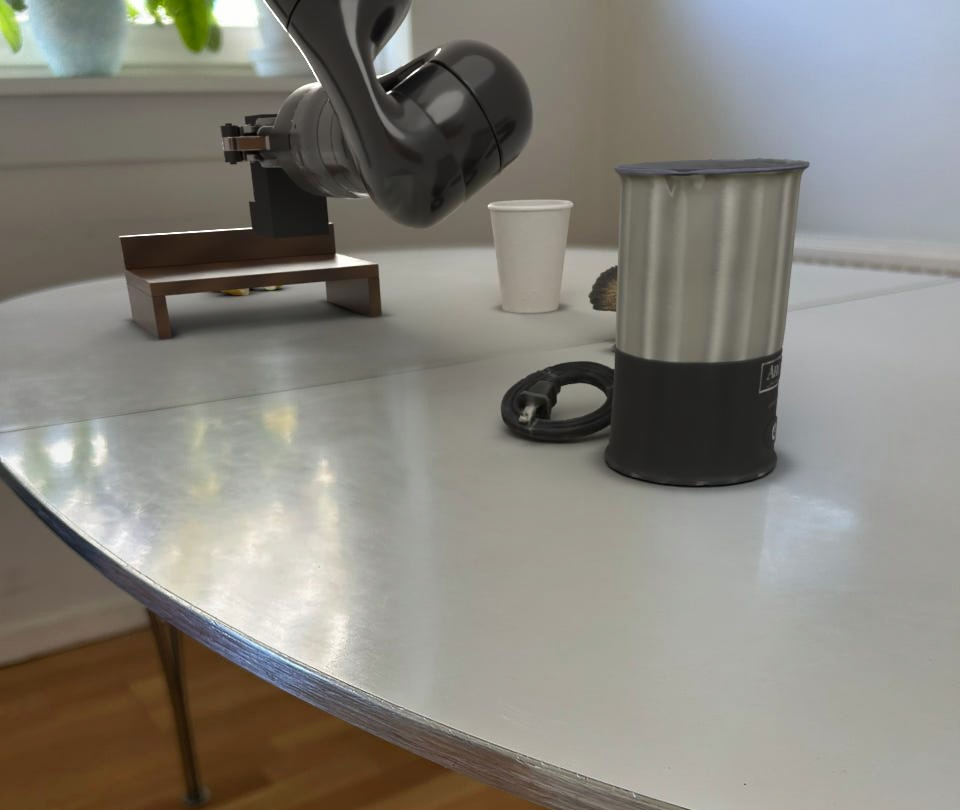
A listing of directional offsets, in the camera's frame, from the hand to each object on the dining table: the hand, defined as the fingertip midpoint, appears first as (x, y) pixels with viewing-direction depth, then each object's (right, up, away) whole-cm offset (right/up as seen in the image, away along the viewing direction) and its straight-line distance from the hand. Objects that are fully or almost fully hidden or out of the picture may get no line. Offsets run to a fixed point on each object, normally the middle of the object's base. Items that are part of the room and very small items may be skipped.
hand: (274, 143), depth 83 cm
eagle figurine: (+31, -17, +1) cm, 35 cm away
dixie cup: (+22, -8, +19) cm, 30 cm away
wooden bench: (-5, -9, +17) cm, 20 cm away
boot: (0, -6, +3) cm, 7 cm away
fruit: (-11, 0, +35) cm, 37 cm away
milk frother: (+26, -31, -26) cm, 48 cm away
